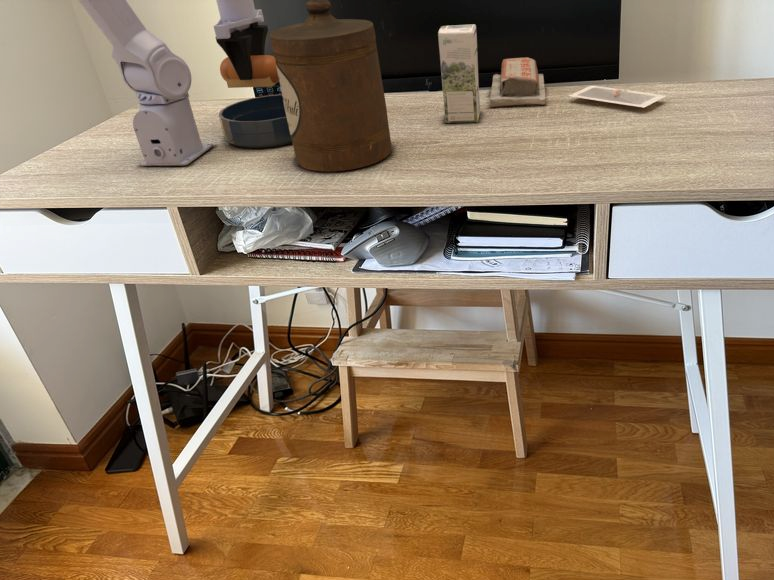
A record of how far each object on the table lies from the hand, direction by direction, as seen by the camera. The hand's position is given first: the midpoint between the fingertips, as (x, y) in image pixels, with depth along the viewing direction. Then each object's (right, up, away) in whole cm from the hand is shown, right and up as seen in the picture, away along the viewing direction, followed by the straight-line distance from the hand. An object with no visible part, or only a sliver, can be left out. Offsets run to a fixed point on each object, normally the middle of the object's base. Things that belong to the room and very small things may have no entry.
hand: (252, 75), depth 116 cm
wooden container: (+18, -17, -12) cm, 28 cm away
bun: (0, -1, +1) cm, 1 cm away
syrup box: (+36, -8, 0) cm, 37 cm away
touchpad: (+63, -4, +2) cm, 64 cm away
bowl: (+4, -10, 0) cm, 11 cm away
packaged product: (+47, +1, +11) cm, 48 cm away
